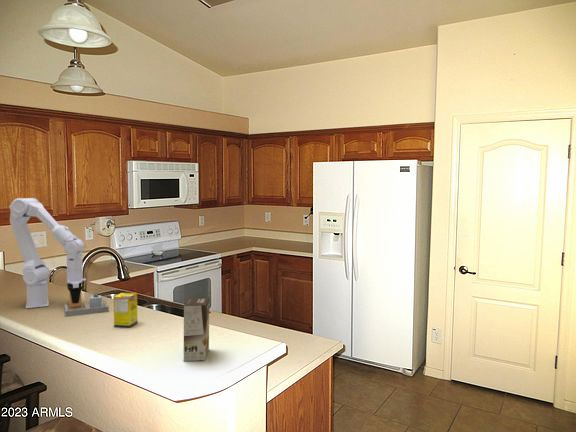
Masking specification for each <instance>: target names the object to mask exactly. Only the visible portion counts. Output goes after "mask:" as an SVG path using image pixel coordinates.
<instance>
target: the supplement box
mask: <svg viewBox="0 0 576 432" xmlns="http://www.w3.org/2000/svg"><path fill="white" fill-rule="evenodd" d="M137 323H138V293H137V292H120V293H118V294H116V295H114V296H113V327H114V328H128V329H129V328H131V327H133V326H135V325H136V324H137Z"/></svg>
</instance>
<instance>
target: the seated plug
mask: <svg viewBox="0 0 576 432" xmlns="http://www.w3.org/2000/svg"><path fill="white" fill-rule="evenodd" d="M94 307H103V297H102V295H101V294H100V295H99V294H98V293H94V294H93V295H90V296H89V308H94Z"/></svg>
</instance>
